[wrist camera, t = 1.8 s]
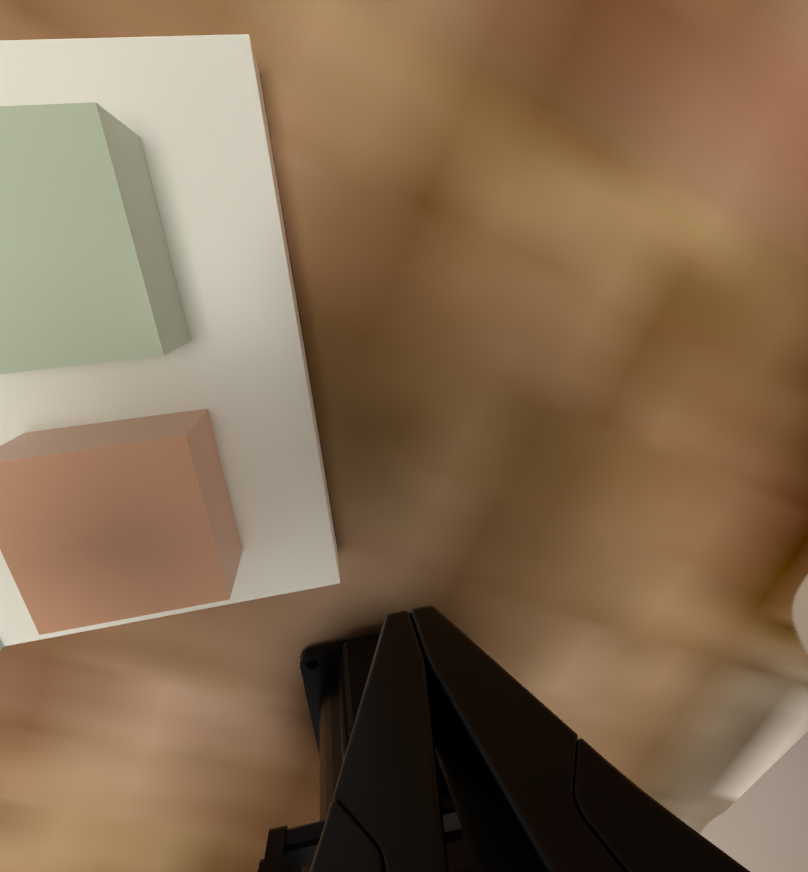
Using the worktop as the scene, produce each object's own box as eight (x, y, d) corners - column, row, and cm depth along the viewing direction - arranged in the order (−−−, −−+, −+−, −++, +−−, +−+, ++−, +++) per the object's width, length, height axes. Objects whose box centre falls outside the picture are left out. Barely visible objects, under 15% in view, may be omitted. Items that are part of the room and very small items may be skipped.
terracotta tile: (242, 550, 16) (229, 599, 13) (82, 578, 15) (38, 635, 13) (207, 408, 14) (185, 435, 11) (24, 432, 13) (-39, 466, 11)
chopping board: (337, 552, 18) (339, 583, 17) (38, 605, 17) (4, 646, 15) (258, 68, 13) (248, 33, 11) (-195, 84, 11) (-293, 48, 10)
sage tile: (191, 341, 13) (164, 355, 11) (-3, 362, 12) (-77, 382, 10) (140, 137, 11) (96, 102, 9) (-88, 149, 11) (-199, 115, 8)
